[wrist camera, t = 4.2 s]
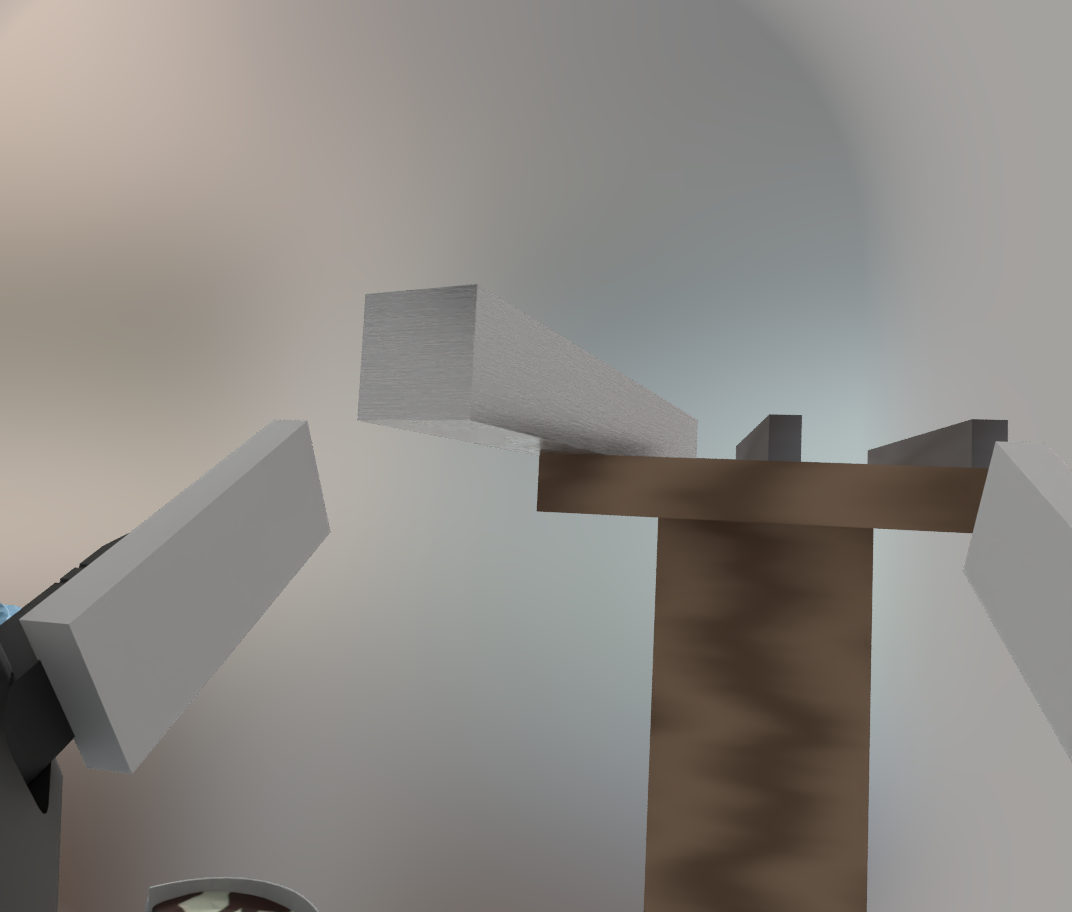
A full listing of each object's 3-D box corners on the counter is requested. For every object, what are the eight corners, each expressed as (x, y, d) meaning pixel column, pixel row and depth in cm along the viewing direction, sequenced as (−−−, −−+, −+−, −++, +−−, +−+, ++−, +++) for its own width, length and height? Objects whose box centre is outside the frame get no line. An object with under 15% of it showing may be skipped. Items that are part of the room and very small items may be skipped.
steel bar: (357, 420, 17) (365, 294, 17) (639, 475, 39) (641, 420, 39) (469, 420, 16) (477, 284, 16) (695, 477, 38) (697, 419, 38)
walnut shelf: (494, 1402, 23) (541, 409, 25) (554, 1098, 35) (583, 441, 37) (1061, 1564, 20) (1062, 421, 22) (915, 1171, 32) (925, 452, 34)
